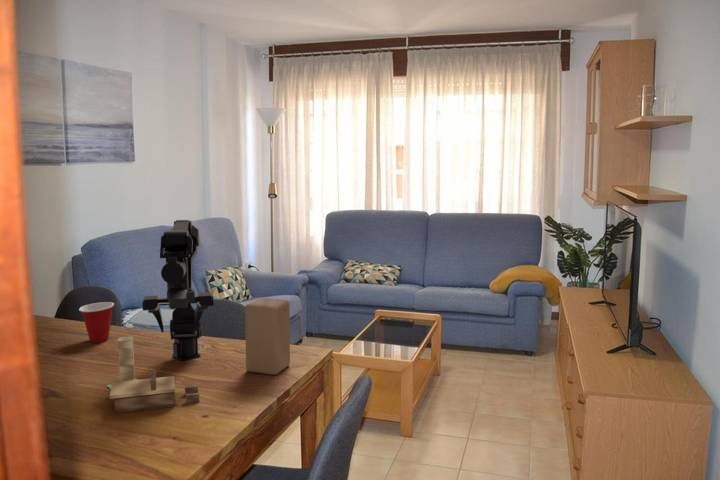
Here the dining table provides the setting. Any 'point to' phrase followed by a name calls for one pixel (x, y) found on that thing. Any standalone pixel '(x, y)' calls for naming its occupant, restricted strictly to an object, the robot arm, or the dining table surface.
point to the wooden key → (126, 358)
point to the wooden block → (267, 335)
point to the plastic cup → (97, 320)
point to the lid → (142, 386)
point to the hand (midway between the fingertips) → (179, 331)
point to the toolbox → (153, 400)
